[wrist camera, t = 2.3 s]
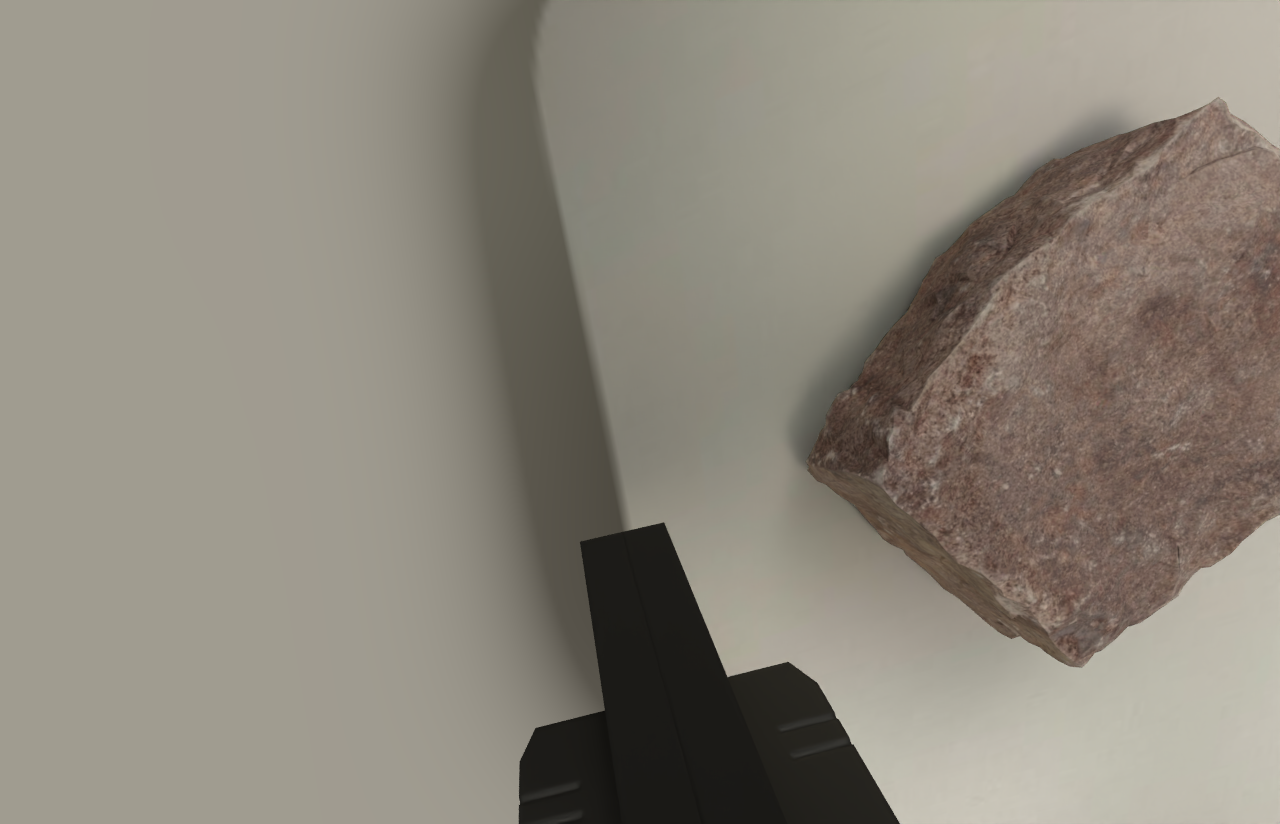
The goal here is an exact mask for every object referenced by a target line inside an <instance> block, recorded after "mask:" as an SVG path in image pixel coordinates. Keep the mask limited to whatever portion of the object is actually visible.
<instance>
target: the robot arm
mask: <svg viewBox="0 0 1280 824" xmlns="http://www.w3.org/2000/svg"><path fill="white" fill-rule="evenodd" d="M580 544H581V551H582V558H583V564H584V571H585V578H586V585H587V592H588V598H589V605H590V612H591V619H592V625H593V632H594V639H595V646H596V652H597V659H598V666H599V673H600V679H601V686H602V693H603V700H604V706H605V711H602V712H598V713H594V714H590V715H586V716H582V717H578V718H574V719H570V720H566V721H562V722H558V723H554V724H550V725H546V726H542V727H538V728H535V730H534V732H533V735H532V737H531V739H530V741H529V743H528V745H527V748H526V749H525V752H524V754H523V756H522V758H521V760H520V773H519V774H520V775H519V799H520V805H519V824H900V823H899V821H898V820H897V818H896V816H895V815H894V813H893V811H892V809H891V808H890V806H889V804H888V803H887V801H886V799H885V798H884V796H883V794H882V792H881V791H880V789H879V787H878V786H877V784H876V782H875V780H874V779H873V777H872V775H871V774H870V772H869V770H868V769H867V767H866V765H865V763H864V762H863V760H862V758H861V757H860V755H859V753H858V751H857V750H856V748H855V746H854V745H853V744H851V742H850V738H849V736H848V734H847V733H846V731H845V729H844V728H843V726H842V724H841V722H840V721H839V719H837V718H836V716H835V712H834V711H833V709H832V707H831V705H830V704H829V702H828V700H827V699H826V697H825V695H824V694H823V692H822V690H821V688H820V687H819V685H818V683H817V682H815V681H814V680H812V679H811V678H810V677H808V676H807V675H806V674H804V673H803V672H802V671H800V670H799V669H797V668H796V667H795V666H793V665H792V664H791V663H789V662H786V663H782V664H778V665H774V666H770V667H766V668H762V669H758V670H754V671H750V672H746V673H742V674H738V675H734V676H730V677H727V675H726V673H725V670H724V668H723V665H722V663H721V660H720V658H719V656H718V653H717V651H716V648H715V646H714V643H713V641H712V638H711V636H710V634H709V631H708V629H707V626H706V624H705V621H704V619H703V616H702V614H701V612H700V609H699V607H698V604H697V602H696V599H695V597H694V594H693V592H692V590H691V587H690V585H689V582H688V580H687V577H686V575H685V572H684V570H683V567H682V565H681V563H680V560H679V558H678V555H677V553H676V550H675V548H674V545H673V543H672V541H671V538H670V536H669V533H668V531H667V528H666V526H665V523H660V524H655V525H651V526H647V527H642V528H638V529H634V530H629V531H625V532H621V533H616V534H612V535H607V536H603V537H599V538H594V539H590V540H586V541H581V542H580Z"/></svg>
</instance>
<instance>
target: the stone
mask: <svg viewBox="0 0 1280 824" xmlns="http://www.w3.org/2000/svg"><path fill="white" fill-rule="evenodd" d="M806 463H807V464H808V465H809V467H808V472H809V473H810V474H811V475H812V476H813V477H814V478H815V479H816V480H817V481H819V482H821V483H824V484H826V485H827V486H828V487H830V488H831V489H832V490H833V491H834V492H836V493H837V494H838V495H840V496H841V497H843V498H844V499H846V500H847V501H849V502H851V503H852V504H854V505H855V506H856V507H857V509H858V510H859V511H860V512H861V514H862V515H863V516H864V517H865V518H866V519H867V520H868V522H869V523H870V524H871V525H872V526H873V527H874V528H875V529H876V530H877V531H878V533H879V534H880V535H881V537H882V538H883V539H884V540H885V541H887V542H888V543H890V544H892V545H894V546H897V547H899V548H901V549H903V550H904V552H905V554H906V555H907V556H909V557H910V558H911V559H912V560H914V561H915V562H916V563H917V564H919V565H920V566H921V567H922V568H923V569H924V570H926V571H927V572H928V573H929V574H930V575H931V576H932V577H933V578H934V579H935V580H936V581H937V582H938V583H939V584H940V585H941V587H942V588H944V589H945V590H947V591H948V592H950V593H951V594H953V595H954V596H956V597H957V598H959V599H960V600H961V601H962V602H963V603H965V604H966V605H967V606H968V607H969V608H970V609H972V610H973V611H974V612H975V613H976V614H977V615H979V616H980V617H981V618H982V619H983V620H984V621H985V622H987V623H988V624H989V625H990V626H992V627H993V628H994V629H996V630H997V631H998V632H1000V633H1001V634H1003V635H1005V636H1007V637H1009V638H1011V639H1012V638H1015V637H1018V636H1021V637H1022V638H1023V639H1025V640H1026V641H1028V642H1029V643H1031V644H1033V645H1036V646H1038V647H1040V648H1041V649H1042V650H1044V651H1045V652H1046V653H1048V654H1049V655H1051V656H1052V657H1054V658H1055V659H1056V660H1058V661H1060V662H1062V663H1064V664H1066V665H1068V666H1071V667H1083V666H1084V665H1085V664H1086V663H1087V662H1088V661H1089V659H1090V658H1091V657H1092V656H1093V654H1094V653H1095V652H1098V651H1101V650H1103V649H1104V648H1105V647H1106V646H1107V645H1109V644H1110V643H1111V642H1112V641H1113V640H1115V639H1116V638H1117V637H1118V636H1119V635H1120V634H1121V633H1122V632H1123V631H1124V630H1125V629H1126V628H1127V627H1128V626H1131V625H1135V624H1138V623H1141V622H1142V621H1143V620H1145V619H1146V618H1148V617H1149V616H1151V615H1152V614H1153V613H1155V612H1156V611H1158V610H1159V609H1160V608H1162V607H1163V606H1165V605H1166V604H1167V603H1169V602H1170V601H1172V600H1173V599H1175V598H1176V597H1177V596H1178V595H1179V593H1180V591H1181V590H1182V588H1183V586H1184V585H1185V584H1186V583H1187V581H1188V580H1189V579H1190V578H1191V576H1192V575H1193V574H1194V573H1196V572H1197V571H1198V570H1199V569H1200V568H1205V567H1211V566H1212V565H1214V564H1216V563H1217V562H1219V561H1220V560H1222V559H1223V558H1225V557H1226V556H1228V555H1229V554H1231V553H1232V552H1233V551H1234V550H1235V549H1236V547H1237V546H1238V545H1239V544H1240V543H1241V542H1242V541H1243V540H1244V539H1245V538H1247V537H1248V536H1249V535H1250V534H1252V533H1253V532H1254V531H1255V530H1257V529H1258V528H1259V527H1260V526H1261V525H1263V524H1264V523H1265V522H1266V521H1268V520H1270V519H1272V518H1274V517H1276V516H1278V515H1280V149H1279V148H1277V147H1275V146H1274V145H1272V144H1271V143H1270V142H1268V141H1267V140H1266V139H1265V138H1264V137H1263V136H1262V135H1261V134H1259V133H1258V132H1257V131H1256V130H1255V129H1253V128H1252V127H1251V126H1250V125H1248V124H1247V123H1246V122H1244V121H1243V120H1241V119H1239V118H1237V117H1235V116H1234V115H1232V114H1230V112H1229V109H1228V106H1227V104H1226V102H1225V101H1223V100H1222V99H1220V98H1219V97H1218V98H1216V99H1215V100H1213V101H1212V102H1211V103H1209V104H1208V105H1206V106H1203V107H1201V108H1199V109H1197V110H1194V111H1192V112H1190V113H1187V114H1185V115H1182V116H1180V117H1177V118H1173V119H1169V120H1164V121H1160V122H1155V123H1152V124H1149V125H1147V126H1144V127H1142V128H1139V129H1137V130H1134V131H1131V132H1128V133H1126V134H1121V135H1117V136H1115V137H1112V138H1110V139H1107V140H1104V141H1102V142H1099V143H1096V144H1093V145H1091V146H1088V147H1085V148H1082V149H1080V150H1078V151H1077V152H1075V153H1073V154H1071V155H1069V156H1067V157H1065V158H1063V159H1053V160H1051V161H1049V162H1048V163H1046V164H1045V165H1043V166H1042V167H1040V168H1039V169H1037V170H1036V171H1035V172H1034V173H1033V174H1032V176H1031V177H1030V178H1029V179H1028V180H1027V181H1026V182H1025V183H1024V184H1023V185H1022V187H1021V188H1020V189H1019V191H1018V192H1017V193H1016V194H1015V195H1014V196H1011V197H1008V198H1006V199H1005V200H1003V201H1002V202H1001V203H999V204H998V205H997V206H995V207H994V208H993V209H991V210H990V211H988V212H987V213H985V214H984V215H982V216H981V217H980V218H978V219H977V220H976V221H974V222H973V223H972V224H970V226H969V227H968V228H967V229H966V230H965V232H964V233H963V234H962V235H961V237H960V238H959V239H958V240H957V241H956V242H955V243H954V244H953V245H952V246H951V247H950V248H949V249H948V250H947V251H946V252H945V253H943V254H942V255H940V256H939V257H937V258H935V260H934V262H933V264H932V266H931V268H930V270H929V272H928V274H927V276H926V277H925V278H924V280H923V282H922V285H921V287H920V289H919V291H918V293H917V295H916V296H915V298H914V300H913V302H912V303H911V305H910V307H909V309H908V311H907V313H906V314H905V315H904V316H903V317H902V318H901V319H900V320H898V321H897V322H896V323H895V324H894V326H893V327H892V328H891V329H890V331H889V332H888V333H887V334H886V335H885V337H884V338H883V339H882V341H881V342H880V344H879V345H878V347H877V348H876V350H875V351H874V352H873V353H872V354H871V355H870V357H869V358H868V359H867V360H866V361H865V363H864V368H863V372H862V373H861V375H860V376H859V379H858V381H857V382H855V383H854V384H853V385H852V386H851V387H850V389H849V390H846V391H843V392H840V393H838V395H837V396H836V398H835V400H834V402H833V403H832V405H831V407H830V409H829V411H828V412H827V414H826V425H825V427H824V428H823V429H822V430H821V432H820V433H819V436H818V439H817V441H816V443H815V445H814V447H813V449H812V452H811V454H810V455H809V457H808V459H807V460H806Z"/></svg>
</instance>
